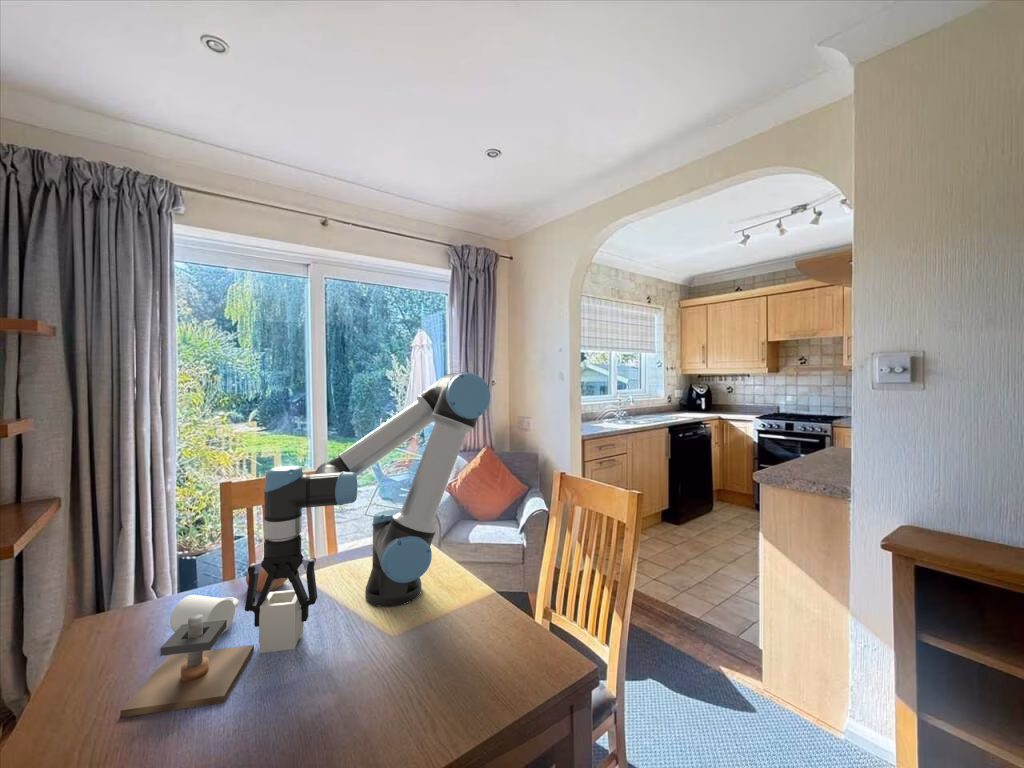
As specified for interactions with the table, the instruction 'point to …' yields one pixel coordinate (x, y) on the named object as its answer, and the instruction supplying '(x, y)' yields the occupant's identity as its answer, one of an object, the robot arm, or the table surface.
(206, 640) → the ring
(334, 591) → the table surface
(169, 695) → the peg stacking board
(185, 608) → the mug
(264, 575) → the pumpkin
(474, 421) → the robot arm
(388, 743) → the table surface
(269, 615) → the sleeve
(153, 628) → the table surface
